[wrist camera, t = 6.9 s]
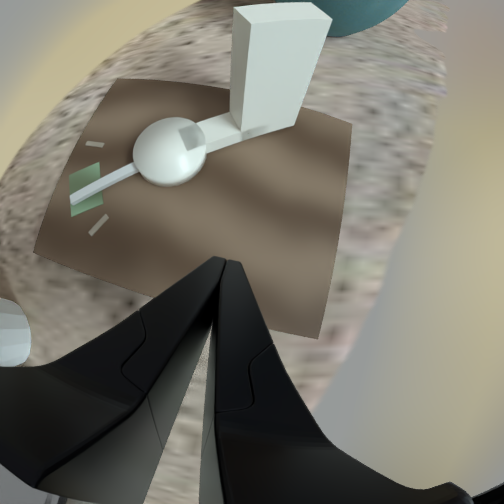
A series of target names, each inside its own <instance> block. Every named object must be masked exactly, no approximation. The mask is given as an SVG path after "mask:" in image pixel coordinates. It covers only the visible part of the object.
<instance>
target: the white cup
mask: <svg viewBox="0 0 504 504" xmlns="http://www.w3.org/2000/svg"><path fill="white" fill-rule="evenodd" d="M30 347H31V333H30V327H29V324H28V321H27V318H26V315H25V314H24V312H23V310H22V309H21V307H20V306H19V305H17V304H16V303H15V302H13V301H11V300H7V299H3V298H0V366H5V367H14V366H17V365H19V364H21V363H23V362H25V361H26V359H27V357H28V356H29V354H30Z"/></svg>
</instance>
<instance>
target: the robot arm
mask: <svg viewBox="0 0 504 504" xmlns="http://www.w3.org/2000/svg"><path fill="white" fill-rule="evenodd" d="M211 326H212V329H211ZM210 330H211V337H210V347H209V358H208V369H207V380H206V392H205V404H204V418H203V432H202V448H201V466H200V487H199V504H504V482H503V483H502V484H500V485H498V486H496V487H493V488H491V489H489V490H487V491H485V492H483V493H481V494H478V495H476V496H473V497H470V495H469V494H468V493H467V492H466V491H465V490H463V489H462V488H460V487H458V486H457V485H455V484H454V483H452V482H447V483H444V484H441V485H438V486H435V487H432V488H429V489H424V490H423V489H413V488H409V487H405V486H403V485H401V484H398V483H396V482H394V481H393V480H391V479H389V478H387V477H385V476H383V475H381V474H380V473H378V472H376V471H374V470H373V469H371V468H369V467H367V466H366V465H364V464H362V463H361V462H359V461H358V460H356V459H354V458H352V457H351V456H349V455H348V454H346V453H345V452H343V451H342V450H340V449H338V448H337V447H336V446H335V445H334V444H333V443H332V442H331V441H329V440H328V438H327V437H326V436H325V435H324V433H323V432H322V431H321V429H320V427H319V426H318V424H317V423H316V421H315V419H314V418H313V416H312V415H311V413H310V411H309V410H308V408H307V406H306V405H305V403H304V401H303V400H302V398H301V396H300V395H299V393H298V391H297V390H296V388H295V386H294V384H293V383H292V381H291V379H290V377H289V375H288V374H287V372H286V370H285V367H284V365H283V363H282V361H281V359H280V357H279V354H278V352H277V349H276V347H275V345H274V344H273V340H272V337H271V335H270V333H269V330H268V328H267V325H266V323H265V320H264V318H263V315H262V313H261V310H260V308H259V306H258V303H257V301H256V298H255V296H254V293H253V291H252V288H251V286H250V283H249V281H248V278H247V276H246V273H245V271H244V268H243V266H242V263H241V262H239V261H235V260H231V259H228V260H226V258H222V257H218V256H212V257H211V258H209V259H208V260H207V261H205V262H204V263H202V264H201V265H200V266H198V267H197V268H195V269H194V270H193V271H191V272H190V273H188V274H187V275H186V276H184V277H183V278H181V279H180V280H179V281H177V282H176V283H174V284H173V285H172V286H170V287H169V288H167V289H166V290H165V291H163V292H162V293H161V294H159V295H158V296H156V297H155V298H154V299H152V300H151V301H150V302H148V303H147V304H145V305H144V306H143V307H141V308H140V309H139V311H138V310H137V311H136V312H134V313H133V314H132V315H130V316H129V317H127V318H126V319H125V320H123V321H122V322H120V323H119V324H117V325H116V326H114V327H113V328H111V329H110V330H108V331H106V332H105V333H103V334H101V335H100V336H98V337H96V338H95V339H93V340H91V341H89V342H88V343H86V344H84V345H82V346H81V347H79V348H77V349H75V350H74V351H72V352H70V353H68V354H67V355H65V356H63V357H61V358H60V359H58V360H56V361H54V362H51V363H49V364H45V365H42V366H35V367H5V366H0V504H143V503H144V500H145V497H146V495H147V492H148V489H149V487H150V484H151V481H152V479H153V476H154V474H155V471H156V468H157V466H158V463H159V460H160V458H161V455H162V453H163V449H164V447H165V445H166V442H167V439H168V437H169V434H170V432H171V429H172V426H173V424H174V421H175V419H176V416H177V414H178V411H179V408H180V406H181V403H182V401H183V398H184V396H185V393H186V391H187V388H188V386H189V383H190V380H191V378H192V375H193V373H194V370H195V368H196V365H197V363H198V360H199V358H200V355H201V353H202V350H203V348H204V345H205V343H206V340H207V338H208V335H209V332H210Z"/></svg>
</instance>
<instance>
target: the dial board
mask: <svg viewBox="0 0 504 504" xmlns="http://www.w3.org/2000/svg"><path fill="white" fill-rule="evenodd" d="M228 112H230V90H229V89H223V88H217V87H211V86H204V85H197V84H190V83H181V82H171V81H160V80H145V79H117V80H116V81H115V83H114V84H113V85H112V87H111V88H110V90H109V91H108V93H107V94H106V96H105V97H104V99H103V100H102V102H101V103H100V105H99V106H98V108H97V110H96V111H95V113H94V114H93V116H92V118H91V119H90V121H89V123H88V124H87V126H86V128H85V130H84V131H83V133H82V135H81V137H80V139H79V140H78V142H77V144H76V146H75V148H74V150H73V152H72V154H71V156H70V158H69V160H68V162H67V164H66V166H65V168H64V170H63V172H62V175H61V177H60V179H59V181H58V184H57V186H56V188H55V191H54V193H53V195H52V198H51V200H50V203H49V206H48V208H47V211H46V214H45V216H44V219H43V222H42V225H41V228H40V231H39V234H38V237H37V241H36V244H35V247H34V251H33V253H36V254H38V255H40V256H43V257H45V258H47V259H50V260H52V261H54V262H57V263H59V264H62V265H64V266H67V267H69V268H72V269H74V270H77V271H79V272H82V273H85V274H87V275H90V276H93V277H95V278H98V279H101V280H104V281H106V282H109V283H112V284H115V285H118V286H120V287H123V288H126V289H129V290H132V291H135V292H138V293H141V294H144V295H147V296H150V297H154V298H155V297H156V296H158V295H159V294H161V293H162V292H163V291H165V290H166V289H167V288H169V287H170V286H172V285H173V284H174V283H176V282H177V281H179V280H180V279H181V278H183V277H184V276H186V275H187V274H188V273H190V272H191V271H193V270H194V269H195V268H197V267H198V266H200V265H201V264H202V263H204V262H205V261H207V260H208V259H209V258H211V257H212V256H218V257H222V258H226V260H228V259H231V260H235V261H239V262H241V263H242V266H243V268H244V271H245V273H246V276H247V278H248V281H249V283H250V286H251V288H252V291H253V293H254V296H255V298H256V301H257V303H258V306H259V308H260V310H261V313H262V315H263V318H264V320H265V323H266V325H267V328H268V329H271V330H276V331H280V332H285V333H289V334H294V335H299V336H304V337H308V338H314V339H318V337H319V333H320V329H321V325H322V320H323V316H324V312H325V307H326V303H327V298H328V293H329V288H330V284H331V279H332V273H333V268H334V263H335V257H336V252H337V246H338V240H339V234H340V228H341V221H342V214H343V207H344V200H345V192H346V184H347V175H348V166H349V156H350V145H351V132H352V124H351V123H348V122H345V121H343V120H340V119H337V118H334V117H331V116H329V115H326V114H323V113H320V112H316V111H313V110H310V109H307V108H304V107H300V110H299V113H298V116H297V118H296V121H295V124H294V126H290V127H286V128H283V129H279V130H276V131H273V132H269V133H266V134H263V135H259V136H256V137H253V138H250V139H247V140H244V141H241V142H238V143H235V144H232V145H229V146H226V147H223V148H221V149H218V150H215V151H212V152H210V153H207V156H206V160H205V163H204V165H203V167H202V168H201V170H200V171H199V172H198V173H197V174H196V175H195V176H194V177H193V178H192V179H190V180H189V181H187V182H185V183H183V184H180V185H177V186H172V187H161V186H156V185H154V184H151V183H150V182H148V181H147V180H145V179H144V177H143V176H142V175H141V173H140V172H138V173H135V174H133V175H131V176H129V177H127V178H125V179H123V180H121V181H119V182H117V183H115V184H113V185H111V186H109V187H107V188H105V189H103V190H101V191H99V192H97V193H95V194H94V195H92V196H90V197H88V198H86V199H84V200H83V201H81V202H79V203H77V204H76V205H74V206H73V205H72V204H71V202H70V195H71V194H73V193H75V192H77V191H78V190H80V189H82V188H84V187H85V186H87V185H89V184H91V183H93V182H95V181H97V180H98V179H100V178H102V177H104V176H106V175H108V174H110V173H112V172H114V171H116V170H118V169H120V168H122V167H124V166H126V165H128V164H130V163H133V162H134V160H133V148H134V145H135V142H136V140H137V138H138V137H139V135H140V134H141V133H142V132H143V131H144V130H145V129H146V128H147V127H148V126H150V125H151V124H153V123H155V122H157V121H159V120H162V119H165V118H171V117H180V118H185V119H189V120H191V121H193V122H194V123H198V122H200V121H203V120H206V119H209V118H212V117H215V116H218V115H221V114H225V113H228Z"/></svg>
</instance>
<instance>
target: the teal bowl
mask: <svg viewBox="0 0 504 504" xmlns="http://www.w3.org/2000/svg"><path fill="white" fill-rule="evenodd" d="M275 1H276V3H290V2H311V3H312V4H314V5H315V6H316V7H318V8H319V9H320V10H322V11H323V12H324V13H325V14H327V15H328V16H329V17H330V18H332V19H333V20H332V22H331V25H330V28H329V31H328V33H327V36H334V37H341V36H347V35H350V34H354V33H357V32H360V31H363V30H365V29H368V28H370V27H373V26H375V25H377V24H379V23H380V22H382V21H384V20H385V19H387V18H389V17H390V16H391V15H393V14H394V13H395V12H397V11H398V10H399V9H400V8H401V7H402V6H403V5H404V4H405V3H406V2H407V1H408V0H275Z"/></svg>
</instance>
